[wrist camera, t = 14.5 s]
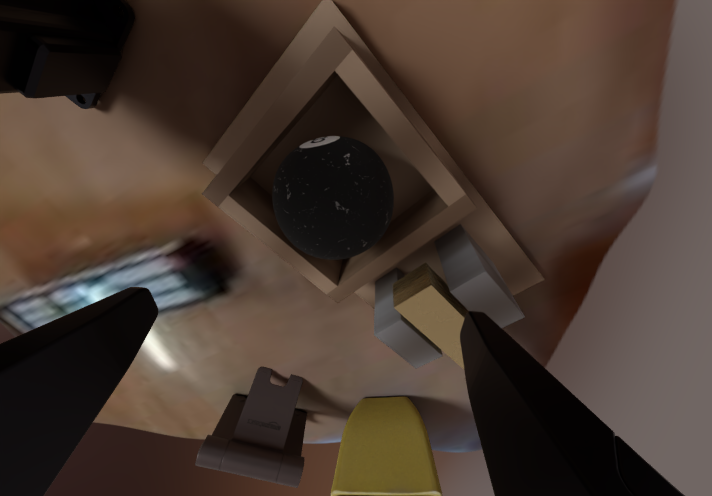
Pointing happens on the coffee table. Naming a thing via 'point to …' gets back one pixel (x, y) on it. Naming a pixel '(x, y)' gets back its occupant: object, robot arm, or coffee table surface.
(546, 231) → the coffee table surface
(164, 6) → the coffee table surface
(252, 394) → the portable electronic device stand
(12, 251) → the coffee table surface
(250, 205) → the dock
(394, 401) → the flower pot
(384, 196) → the billiard ball
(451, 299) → the beige wooden bar
